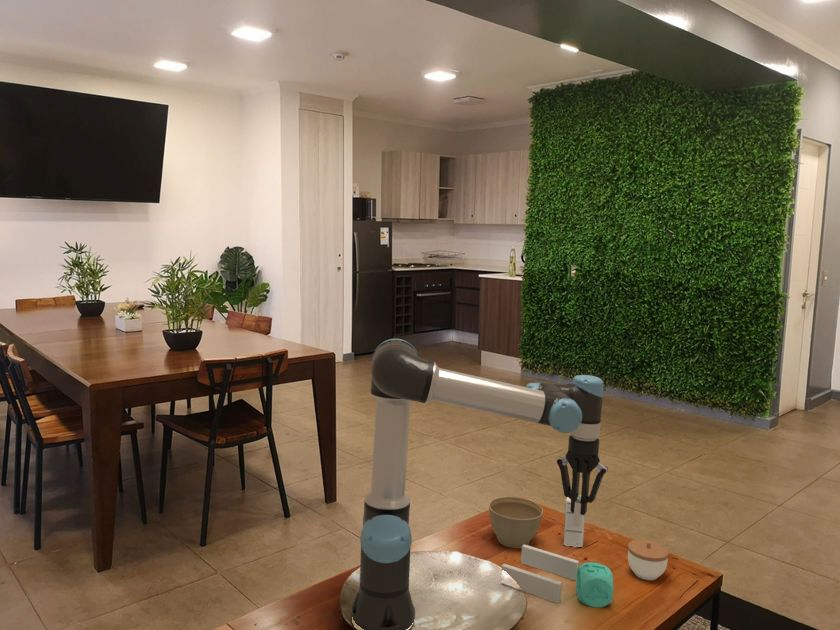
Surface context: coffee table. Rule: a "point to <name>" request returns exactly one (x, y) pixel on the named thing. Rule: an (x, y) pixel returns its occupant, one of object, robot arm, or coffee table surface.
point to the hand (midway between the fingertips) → (577, 525)
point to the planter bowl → (515, 520)
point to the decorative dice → (594, 584)
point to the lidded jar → (647, 559)
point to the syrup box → (572, 527)
